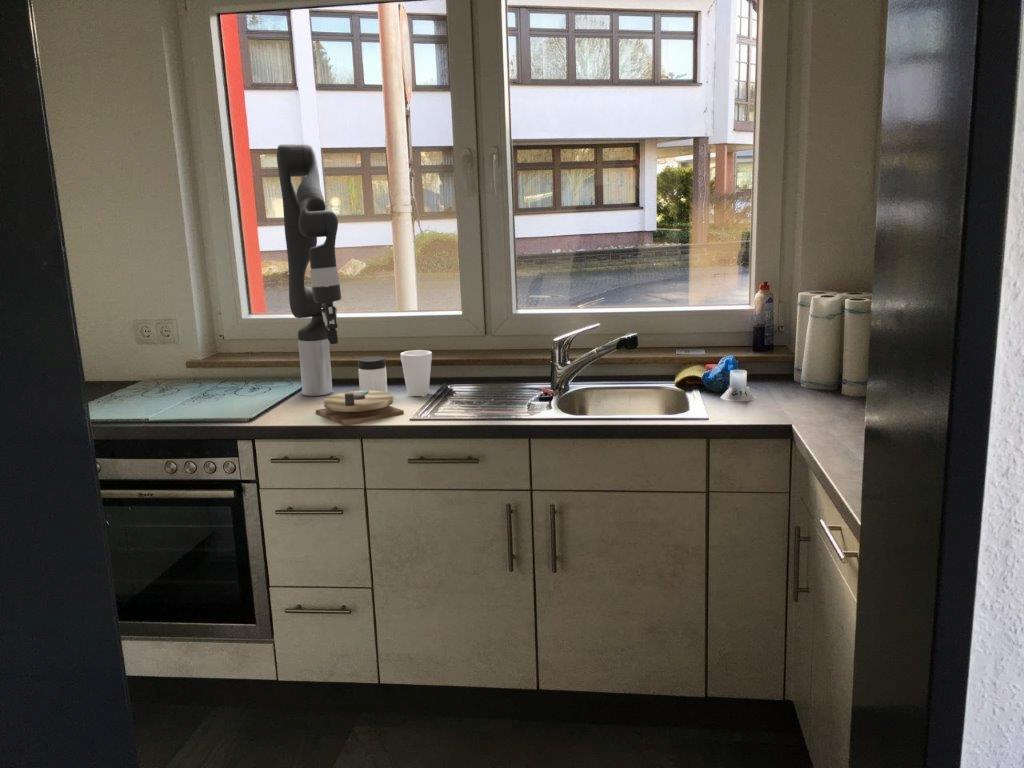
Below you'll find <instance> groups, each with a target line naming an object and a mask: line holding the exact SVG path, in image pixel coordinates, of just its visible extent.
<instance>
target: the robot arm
mask: <svg viewBox="0 0 1024 768" xmlns="http://www.w3.org/2000/svg"><path fill="white" fill-rule="evenodd" d="M276 163H277V170H278V177H279V178H278V179H279V183H280V190H281V198H282V208H283V222H284V225H283V226H284V236H285V237H284V238H285V245H286V253H287V264H288V266H287V267H288V300H289V308H290V312H291V313H292V315H293V317H295V318H296V319H304V318H311V320H310V321H309V323H308V324H306V325H305V326H304V327H302V328H300V329H299V330H298V331H297V341H298V352H299V353H298V355H299V368H300V377H301V378H300V380H301V394H302V395H303V396H307V397H315V396H316V397H318V396H324V395H325V396H327V395H329V394H332V393H333V381H332V366H331V365H332V364H331V353H330V350H331V349H330V345H337V344H338V343H339V340H338V332H337V330H338V327H339V326H338V315H337V314H338V310H337V309H338V308H337V307H336V306H334V302H339V301H341V300H342V293H341V285H340V284H341V283H340V277H339V276H340V275H339V271H338V268H337V260H336V239H337V234H338V227H339V220H338V217H337V214H336V213H335V212H334V211H333V210H329V209H327V208H326V206H327V205H326V202H325V198H324V196H323V192H322V190H321V184H320V183H321V181H320V173H319V168H318V167H319V166H318V161H317V155H316V152H315V150H314V147H313V146H312V145H311V144H307V143H286V144H285V143H282V144H278V145H277V148H276ZM292 177H304V178H303V179H302V181H301V182H300V184H299V185H298V187H297V190H296V189H295V187H294V184H293V180H292ZM321 237H322V238H323V237H325V240H324V242H323V243H321V244H318V238H321ZM308 264H309V265H310V281H311V286H305V276H306V270H307V268H308Z"/></svg>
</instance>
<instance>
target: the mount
mask: <svg viewBox="0 0 1024 768" xmlns="http://www.w3.org/2000/svg"><path fill="white" fill-rule="evenodd" d="M404 411H405V410H403V409H400V408H398V407H395V406H392V405H389V406H386V407H383V408H379V409H374V410H368V411H356V412H343V411H334V410H329V409H327V408H325V407H324V408H319V409H315V414H317V415H319V416H321V417H323V418H326V419H329V420H331V421H333V422H336V423H339V424H341V425H343V426H350V425H355V423H356V424H360V423H365V421H366V422H370V420H371V421H376V420H380V419H385V418H390V417H395V416H400V415H403V414H405V412H404ZM375 419H376V420H375Z"/></svg>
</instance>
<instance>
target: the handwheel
mask: <svg viewBox="0 0 1024 768" xmlns="http://www.w3.org/2000/svg"><path fill="white" fill-rule="evenodd" d="M393 396H394V395H393V394H391V393H389V392H388V391H387V392H382V391H360V390H353V391H345V392H341V393H340V392H339V393H335V394H332V395H328V396H327V397H325V398H324V399H323V407H324V408H327V409H329V410H334V411H343V412H356V411H368V410H374V409H379V408H383V407H386V406H392V404H393V403H394V397H393Z"/></svg>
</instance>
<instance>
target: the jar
mask: <svg viewBox="0 0 1024 768" xmlns="http://www.w3.org/2000/svg"><path fill="white" fill-rule="evenodd" d="M357 364H358V370H357V371H358V383H359V384H358V385H359V391H382V392H387V393H388V380H387V379H388V378H387V376H388V375H387V366H386V365H387V361H386V357H384V356H365V357H361V358H359V359H357Z"/></svg>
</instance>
